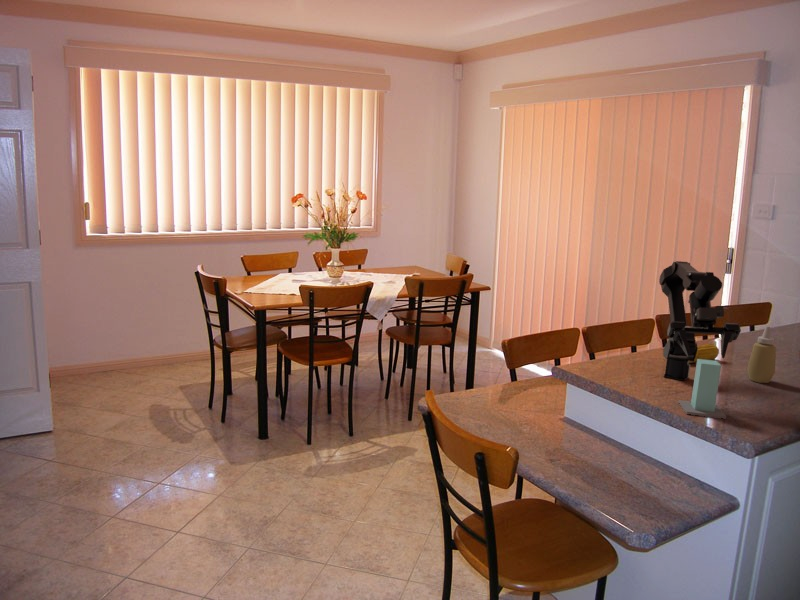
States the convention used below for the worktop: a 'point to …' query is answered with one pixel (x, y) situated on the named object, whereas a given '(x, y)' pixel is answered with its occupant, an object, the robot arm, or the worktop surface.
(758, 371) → the squeeze bottle
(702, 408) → the teal block
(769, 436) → the worktop surface
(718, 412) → the rubber mat
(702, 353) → the food
